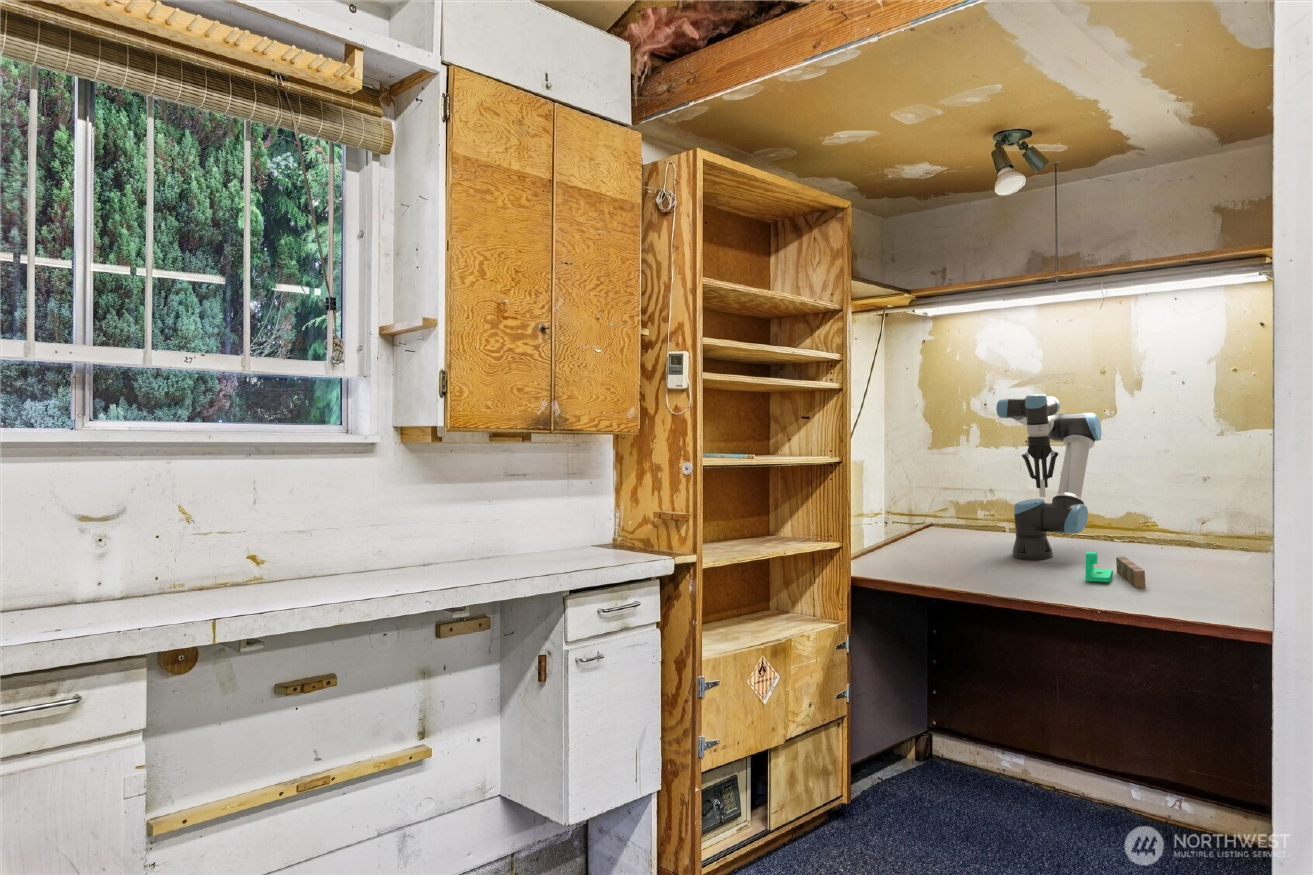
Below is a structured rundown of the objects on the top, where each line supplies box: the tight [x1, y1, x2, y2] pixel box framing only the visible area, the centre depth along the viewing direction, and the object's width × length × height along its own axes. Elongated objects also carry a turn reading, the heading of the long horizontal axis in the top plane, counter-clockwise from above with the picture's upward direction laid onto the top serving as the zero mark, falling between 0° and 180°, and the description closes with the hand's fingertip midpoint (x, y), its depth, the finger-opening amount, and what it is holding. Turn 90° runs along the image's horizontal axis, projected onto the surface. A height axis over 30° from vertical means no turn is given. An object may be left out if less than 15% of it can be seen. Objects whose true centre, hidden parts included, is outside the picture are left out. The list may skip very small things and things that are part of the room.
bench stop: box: [1115, 556, 1146, 589], centre depth 298 cm, size 20×3×6 cm, turn 168°
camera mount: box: [1085, 551, 1114, 583], centre depth 302 cm, size 12×8×10 cm, turn 146°
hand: (1042, 496), depth 316 cm, fingers closed
